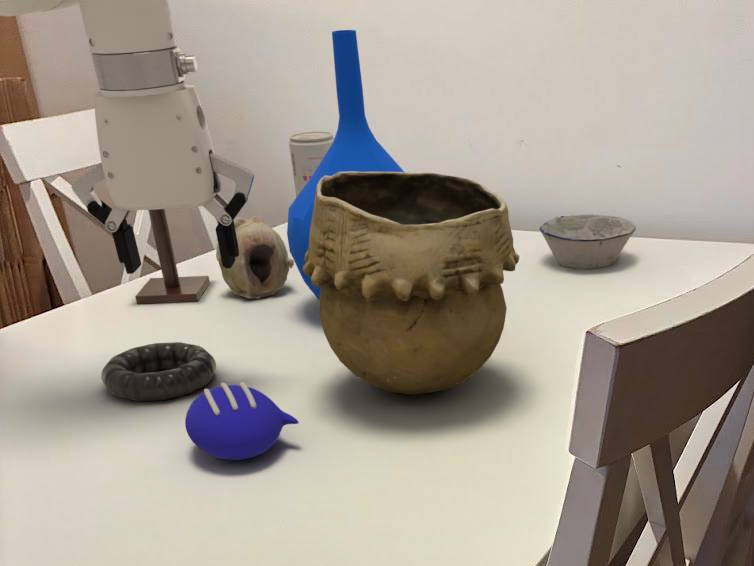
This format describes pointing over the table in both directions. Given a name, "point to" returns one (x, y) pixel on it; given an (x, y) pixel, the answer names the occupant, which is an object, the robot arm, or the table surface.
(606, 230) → the bowl
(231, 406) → the decorative object
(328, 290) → the clay pot
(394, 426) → the table surface
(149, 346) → the ring
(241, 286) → the beige rounded lump
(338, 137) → the vase
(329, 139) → the beverage can
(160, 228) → the brown upright peg
